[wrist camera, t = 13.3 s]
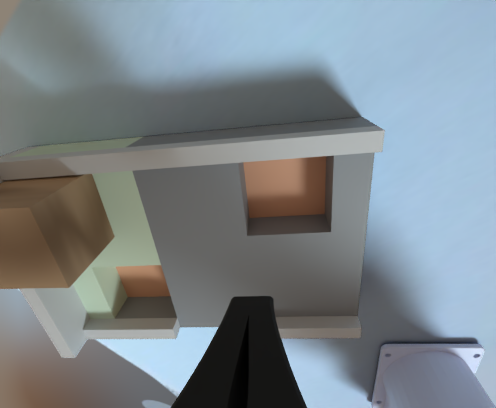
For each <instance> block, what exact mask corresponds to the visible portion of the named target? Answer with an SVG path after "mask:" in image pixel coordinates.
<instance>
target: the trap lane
mask: <svg viewBox="0 0 496 408" xmlns="http://www.w3.org/2000/svg"><path fill="white" fill-rule="evenodd" d="M384 132H385V130H383V129H382V128H380V127H378V126H377V125H375V124H373V123H372V122H370V121H368V120H366V119H365V118H363V117H356V118H345V119H334V120H323V121H311V122H300V123H289V124H278V125H267V126H256V127H245V128H233V129H222V130H211V131H200V132H189V133H178V134H167V135H155V136H144V137H133V138H122V139H111V140H100V141H89V142H77V143H66V144H55V145H44V146H33V147H26V148H23V149H20V150H17V151H14V152H12V153H9V154H6V155H3V156H0V183H2V182H5V181H7V180H15V179H29V178H42V177H55V176H68V175H82V174H92V175H93V178H94V181H95V184H96V186H97V189H98V192H99V195H100V197H101V200H102V203H103V206H104V208H105V211H106V214H107V217H108V219H109V222H110V225H111V228H112V231H113V233H114V236H115V237H114V239H113V240H112V241H111V242H110V243H109V244H108V245H107V246H106V248H105V249H104V250H103V251H102V252H101V253H100V254H99V255H98V256H97V258H96V259H95V260H94V261H93V262H92V263H91V264H90V265H89V266H88V268H87V269H86V270H85V271H84V272H83V273H82V274H81V275H80V277H79V278H78V279H77V280H76V281H75V282H74V283H73V284H72V285H71V287H70V288H25V289H20V291H21V292H22V294H23V296H24V297H25V299H26V300H27V302H28V304H29V305H30V307H31V308H32V310H33V312H34V313H35V315H36V316H37V318H38V320H39V321H40V323H41V324H42V326H43V328H44V329H45V331H46V332H47V334H48V336H49V337H50V339H51V340H52V342H53V343H54V345H55V347H56V348H57V350H58V352H59V353H60V355H61V357H62V358H75V357H76V356H77V354H78V352H79V351H80V350H81V348H82V347H83V345H84V343H85V342H86V341H87V339H176V338H177V335H178V332H179V329H180V327H219V326H220V324H221V322H222V319H223V317H224V315H225V313H226V311H227V308H228V306H229V304H230V301H231V299H232V298H233V297H237V296H271V297H272V298H273V300H274V312H275V317H276V322H277V326H278V330H279V333H280V337H281V339H282V338H361V330H362V328H361V325H360V322H359V319H358V306H359V297H360V287H361V277H362V268H363V258H364V248H365V239H366V229H367V219H368V210H369V200H370V191H371V181H372V171H373V162H374V152H382V149H383V141H384Z"/></svg>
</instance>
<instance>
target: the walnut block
mask: <svg viewBox="0 0 496 408" xmlns="http://www.w3.org/2000/svg"><path fill="white" fill-rule="evenodd" d="M114 237H115V236H114V233H113V231H112V228H111V225H110V222H109V219H108V217H107V214H106V211H105V208H104V206H103V203H102V200H101V197H100V195H99V192H98V189H97V186H96V184H95V181H94V178H93V175H92V174H82V175H68V176H55V177H42V178H29V179H15V180H7V181H5V182H2V183H0V289H25V288H70V287H71V285H72V284H73V283H74V282H75V281H76V280H77V279H78V278H79V277H80V275H81V274H82V273H83V272H84V271H85V270H86V269H87V268H88V266H89V265H90V264H91V263H92V262H93V261H94V260H95V259H96V258H97V256H98V255H99V254H100V253H101V252H102V251H103V250H104V249H105V248H106V246H107V245H108V244H109V243H110V242H111V241H112V240H113V239H114Z"/></svg>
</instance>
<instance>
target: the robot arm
mask: <svg viewBox="0 0 496 408" xmlns="http://www.w3.org/2000/svg"><path fill="white" fill-rule="evenodd" d="M484 352H485V349H484V348H483V347H482V345H480V344H384V345H383V346H382V347H381V350H380V356H379V362H378V368H377V374H376V380H375V386H374V392H373V398H372V404H371V405H372V408H496V407H495V406H494V404H493V403H492V401H491V399H490V398H489V396H488V395H487V393H486V392H485V390H484V389H483V387H482V386H481V384H480V383H479V381H478V379H477V378H476V376H475V373H476V370H477V368H478V366H479V363H480V361H481V359H482V356H483V354H484ZM171 408H307V406H306V404H305V402H304V399H303V397H302V395H301V392H300V390H299V387H298V385H297V382H296V380H295V377H294V375H293V372H292V369H291V367H290V364H289V361H288V358H287V355H286V352H285V349H284V346H283V343H282V340H281V337H280V333H279V330H278V326H277V322H276V317H275V312H274V300H273V298H272V297H271V296H237V297H233V298H232V299H231V301H230V304H229V306H228V308H227V311H226V313H225V315H224V317H223V319H222V322H221V324H220V326H219V328H218V330H217V332H216V334H215V335H214V337H213V339H212V341H211V343H210V345H209V346H208V348H207V350H206V352H205V354H204V356H203V357H202V359H201V361H200V362H199V364H198V366H197V367H196V369H195V371H194V372H193V374H192V376H191V377H190V379H189V380H188V382H187V384H186V385H185V387H184V388H183V390H182V391H181V393H180V394H179V396H178V398H177V399H176V401H175V402H174V404H173V405H172V406H171Z"/></svg>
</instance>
